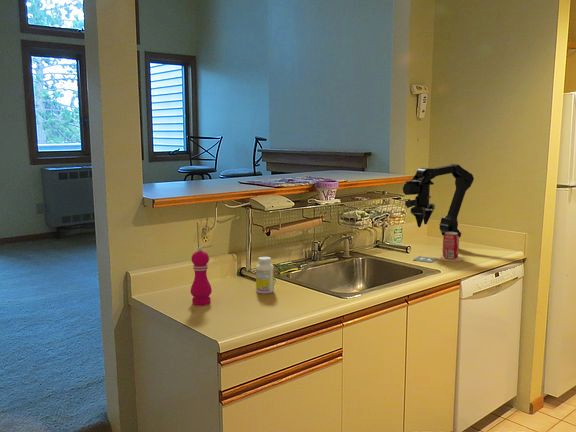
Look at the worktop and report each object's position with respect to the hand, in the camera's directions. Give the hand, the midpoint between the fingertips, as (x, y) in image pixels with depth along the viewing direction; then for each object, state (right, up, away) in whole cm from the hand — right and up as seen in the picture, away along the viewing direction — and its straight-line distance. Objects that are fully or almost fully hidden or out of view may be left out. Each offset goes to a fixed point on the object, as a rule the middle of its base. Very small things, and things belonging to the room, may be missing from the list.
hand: (422, 225), depth 268 cm
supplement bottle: (-74, -24, -64) cm, 101 cm away
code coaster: (-2, -15, -14) cm, 21 cm away
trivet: (+10, -15, -14) cm, 23 cm away
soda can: (+10, -15, -13) cm, 22 cm away
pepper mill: (-96, -26, -77) cm, 126 cm away
